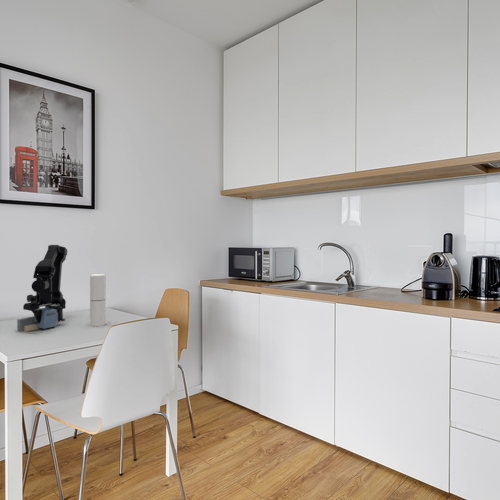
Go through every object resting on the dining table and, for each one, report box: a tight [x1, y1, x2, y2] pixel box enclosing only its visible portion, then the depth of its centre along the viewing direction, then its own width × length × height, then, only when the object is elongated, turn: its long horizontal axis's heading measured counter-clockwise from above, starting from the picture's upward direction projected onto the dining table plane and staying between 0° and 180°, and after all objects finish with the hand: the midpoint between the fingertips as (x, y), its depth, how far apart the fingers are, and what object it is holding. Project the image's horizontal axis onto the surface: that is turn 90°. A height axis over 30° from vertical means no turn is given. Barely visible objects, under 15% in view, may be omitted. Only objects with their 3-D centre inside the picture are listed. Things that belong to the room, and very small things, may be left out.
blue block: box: [33, 307, 57, 330], centre depth 187 cm, size 6×8×8 cm
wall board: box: [16, 312, 59, 333], centre depth 189 cm, size 20×4×6 cm, turn 155°
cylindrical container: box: [89, 273, 107, 327], centre depth 195 cm, size 7×7×25 cm
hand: (45, 321), depth 187 cm, fingers closed on blue block, 6 cm apart
